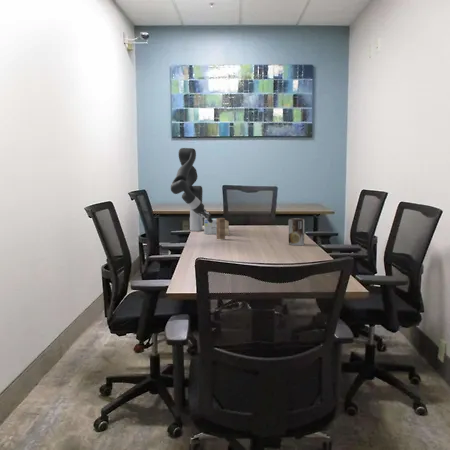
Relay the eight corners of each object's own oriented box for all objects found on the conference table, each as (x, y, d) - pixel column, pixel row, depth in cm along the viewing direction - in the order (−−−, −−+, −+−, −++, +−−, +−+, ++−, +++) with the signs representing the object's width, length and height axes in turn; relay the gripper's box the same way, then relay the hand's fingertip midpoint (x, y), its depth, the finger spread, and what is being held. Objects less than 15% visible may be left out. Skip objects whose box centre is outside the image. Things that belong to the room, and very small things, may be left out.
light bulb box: (220, 232, 328) (219, 218, 327) (219, 234, 322) (218, 219, 320) (205, 232, 329) (205, 217, 328) (204, 234, 323) (203, 219, 321)
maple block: (220, 234, 319) (220, 220, 317) (225, 234, 321) (225, 220, 320) (224, 235, 316) (223, 221, 314) (228, 235, 318) (228, 220, 317)
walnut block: (216, 239, 302) (216, 218, 300) (221, 238, 305) (221, 217, 303) (220, 240, 299) (220, 218, 297) (225, 239, 301) (224, 218, 299)
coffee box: (304, 243, 284) (305, 218, 281) (302, 245, 278) (303, 219, 275) (290, 243, 287) (290, 217, 284) (288, 245, 281) (288, 219, 278)
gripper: (204, 200, 283) (220, 218, 292) (193, 199, 293) (209, 216, 302) (197, 209, 281) (214, 227, 290) (186, 208, 291) (202, 225, 300)
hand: (211, 221), depth 296 cm, fingers closed
